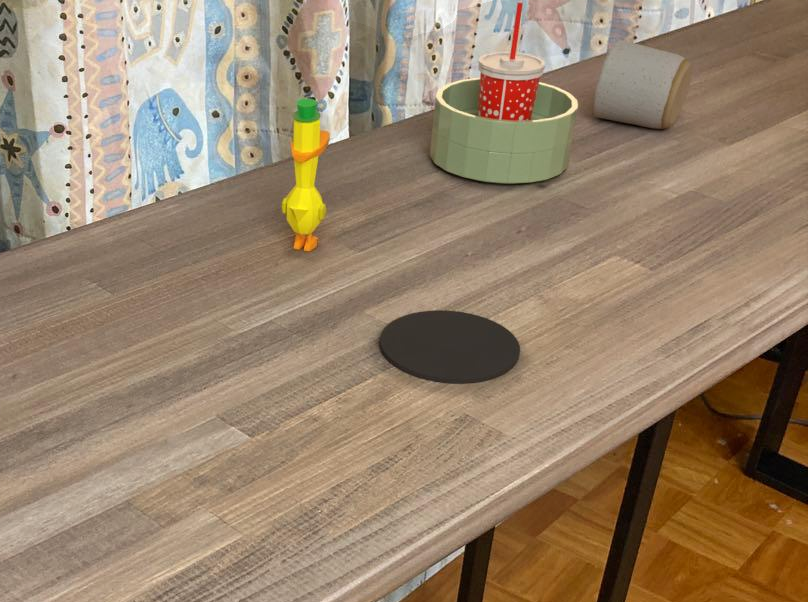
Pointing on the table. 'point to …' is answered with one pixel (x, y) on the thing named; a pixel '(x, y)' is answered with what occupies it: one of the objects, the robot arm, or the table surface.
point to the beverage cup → (509, 81)
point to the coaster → (449, 346)
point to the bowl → (502, 136)
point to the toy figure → (306, 175)
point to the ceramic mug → (642, 85)
